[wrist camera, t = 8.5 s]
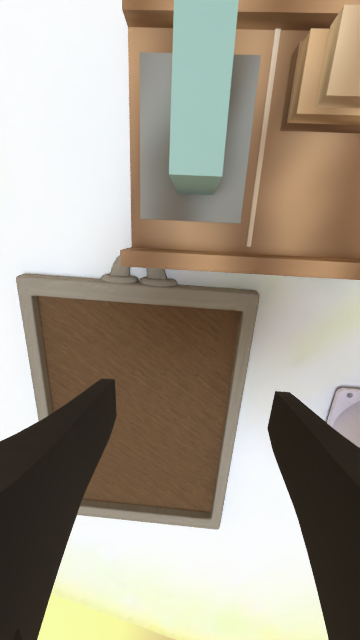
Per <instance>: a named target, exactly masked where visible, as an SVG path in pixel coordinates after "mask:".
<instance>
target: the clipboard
mask: <svg viewBox="0 0 360 640" xmlns="http://www.w3.org/2000/svg"><path fill="white" fill-rule="evenodd" d="M129 270H130V267H125V266H121V257H120V256H119V257H118V258H117V259H116V260H115V262H114V264H113V266H112V269H111V272H110V274H106V275H103V276H101V279H92V278H78V277H64V276H51V275H37V274H22V275H19V276H17V277H16V282H17V288H18V295H19V301H20V307H21V313H22V320H23V326H24V332H25V338H26V344H27V351H28V357H29V363H30V369H31V375H32V382H33V388H34V394H35V400H36V406H37V413H38V419H39V421H40V420H42V419H44V418H45V417H47V416H48V415H50V414H52V413H53V412H55V411H56V410H58V409H59V408H61V407H62V406H64V405H65V404H67V403H68V402H70V401H71V400H72V399H74V398H75V397H77V396H78V395H79V394H81V393H82V392H84V391H85V390H86V389H88V388H89V387H90V386H92V385H93V384H94V383H96V382H97V381H99V380H100V379H102V378H104V379H115V391H116V413H117V417H116V420H115V423H114V426H113V430H112V433H111V436H110V438H109V441H108V443H107V445H106V447H105V450H104V452H103V454H102V456H101V458H100V461H99V463H98V465H97V467H96V469H95V472H94V474H93V476H92V478H91V480H90V482H89V485H88V487H87V489H86V492H85V494H84V496H83V499H82V502H81V504H80V507H79V510H78V513H77V515H84V516H94V517H103V518H113V519H122V520H132V521H141V522H151V523H160V524H170V525H179V526H189V527H198V528H208V529H219V527H220V522H221V516H222V510H223V505H224V499H225V493H226V487H227V482H228V476H229V470H230V464H231V459H232V453H233V447H234V441H235V436H236V430H237V424H238V418H239V412H240V407H241V401H242V395H243V389H244V384H245V378H246V372H247V366H248V361H249V355H250V349H251V343H252V338H253V332H254V326H255V320H256V315H257V309H258V303H259V293H258V292H257V291H254V290H244V289H230V288H216V287H202V286H189V285H177V282H176V281H175V280H173V279H167V277H166V274H165V271H164V269H160V268H147V277H143V278H141V279H140V282H138V279H137V278H136V277H134V276H130V272H129Z"/></svg>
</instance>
